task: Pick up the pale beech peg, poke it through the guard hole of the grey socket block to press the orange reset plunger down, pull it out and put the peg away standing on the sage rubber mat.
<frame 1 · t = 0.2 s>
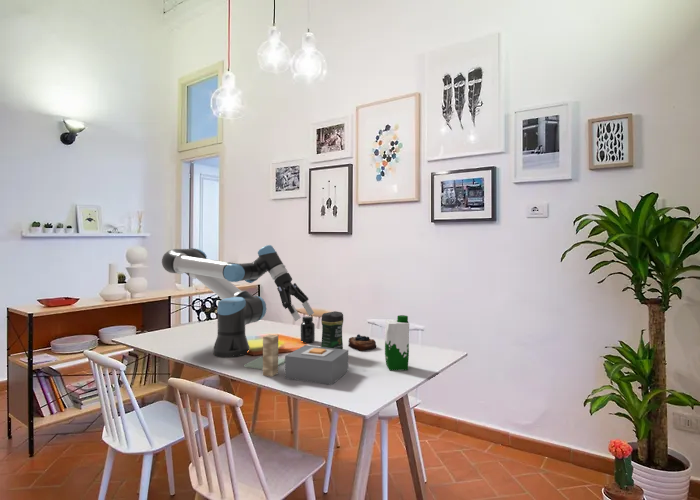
hand: (305, 316, 178), 15 cm above the table, tool tilted 35°, fingers open, 13 cm apart
grey socket block: (317, 374, 148), on the table
pastry: (362, 348, 188), on the table
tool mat: (266, 364, 160), on the table
peg: (270, 374, 148), on the table
milk carton: (396, 368, 157), on the table
supplement bottle: (307, 342, 197), on the table
coffee jar: (332, 355, 174), on the table
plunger: (317, 356, 148), point 6 cm above the table, slide at 0.0 cm
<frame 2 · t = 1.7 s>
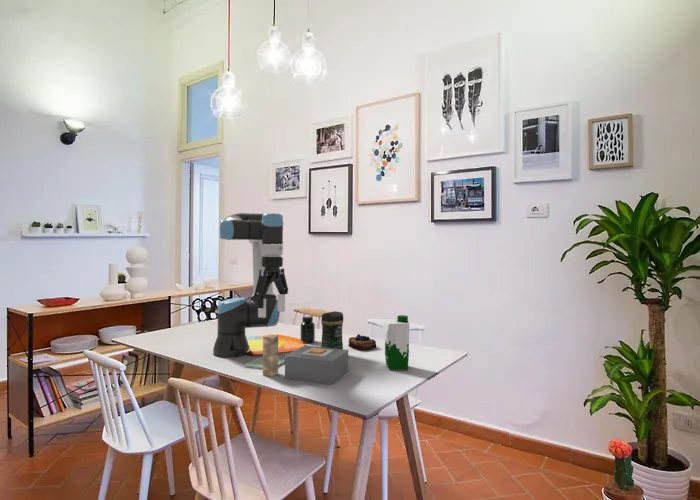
hand: (272, 314, 148), 22 cm above the table, tool pointing down, fingers open, 13 cm apart
nothing on the table moved.
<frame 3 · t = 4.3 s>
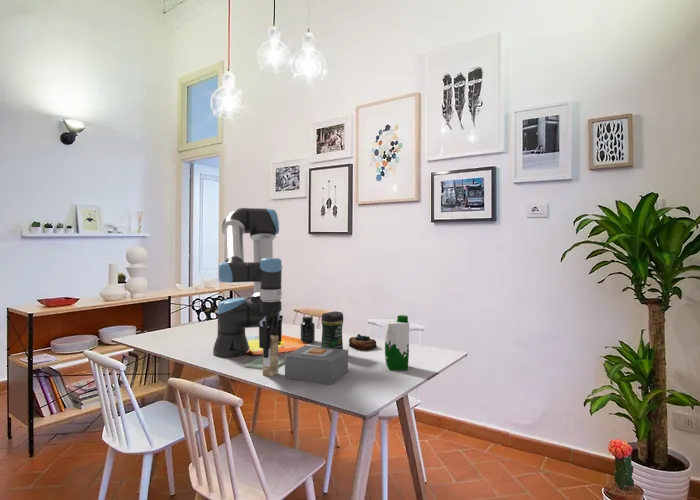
hand: (270, 364, 148), 4 cm above the table, tool pointing down, fingers closed on peg, 4 cm apart
peg: (270, 374, 148), on the table, touching gripper
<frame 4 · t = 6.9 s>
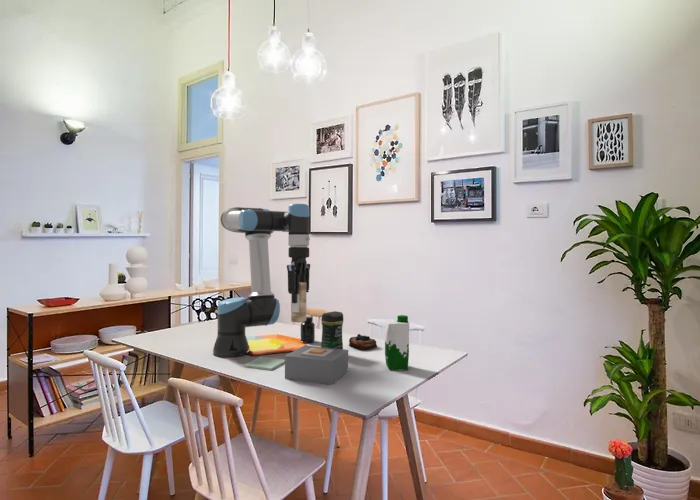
hand: (298, 311, 147), 23 cm above the table, tool pointing down, fingers closed on peg, 4 cm apart
peg: (298, 321, 147), point 20 cm above the table, touching gripper
everything else where it was.
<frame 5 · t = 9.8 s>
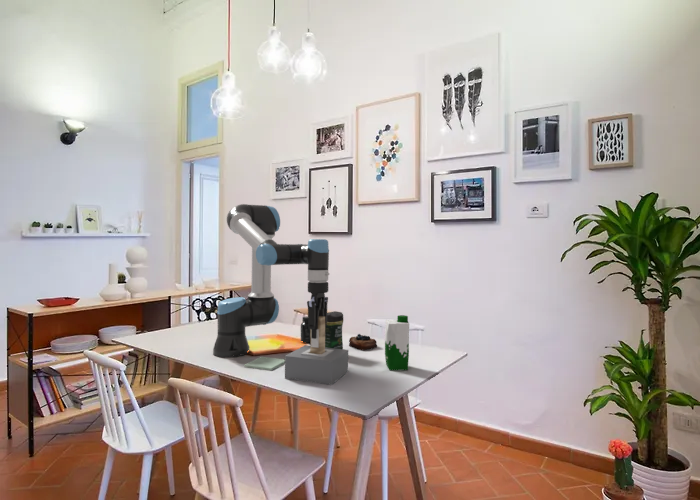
hand: (317, 345, 148), 11 cm above the table, tool pointing down, fingers closed on peg, 4 cm apart
peg: (317, 355, 148), point 7 cm above the table, touching gripper, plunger
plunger: (317, 362, 148), point 5 cm above the table, slide at 2.0 cm, touching peg
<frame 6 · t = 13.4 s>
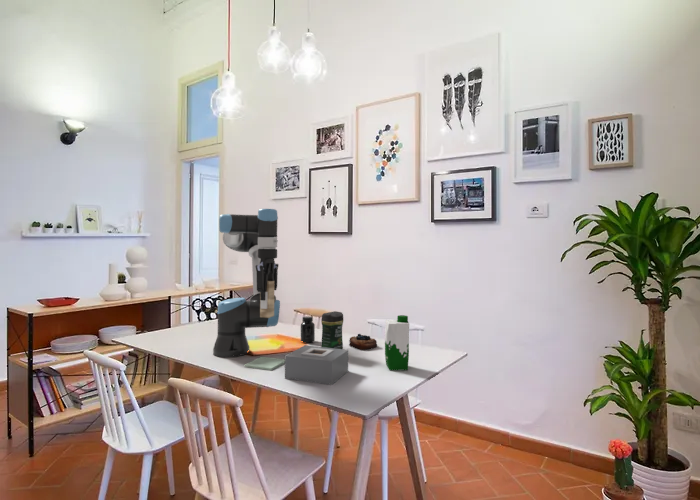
hand: (267, 307, 160), 22 cm above the table, tool pointing down, fingers closed on peg, 4 cm apart
peg: (267, 316, 160), point 19 cm above the table, touching gripper
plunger: (317, 362, 148), point 5 cm above the table, slide at 2.0 cm
when the fingers open (5 cm above the table, at t = 16.4 s): peg drops 1 cm, resting on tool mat.
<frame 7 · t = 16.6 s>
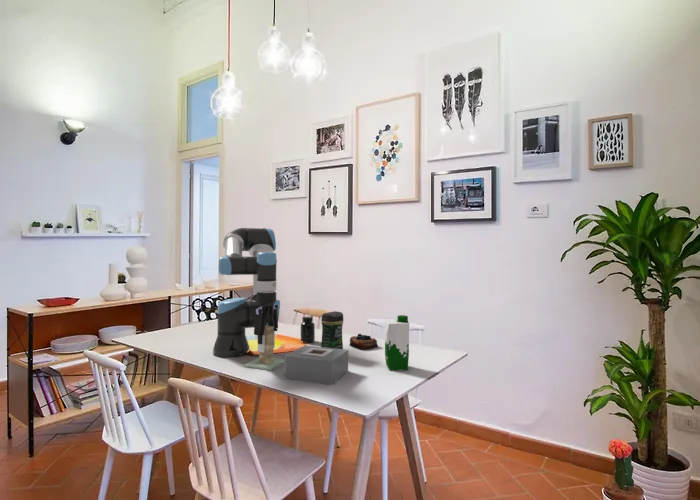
hand: (266, 349, 160), 6 cm above the table, tool pointing down, fingers open, 7 cm apart
peg: (266, 362, 160), point 1 cm above the table, touching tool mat
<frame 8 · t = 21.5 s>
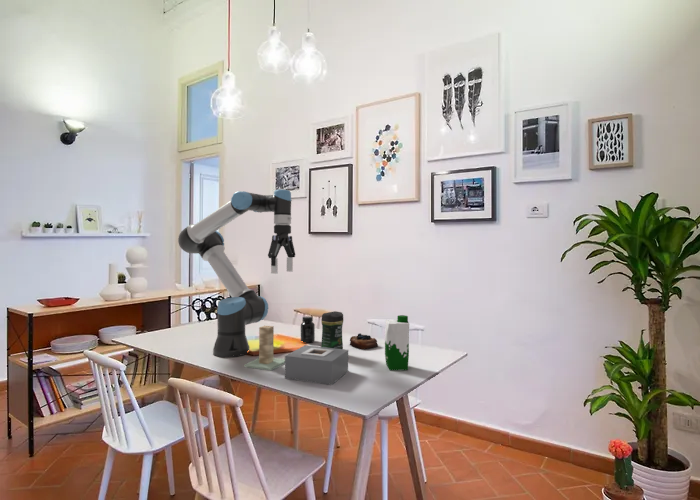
hand: (282, 272, 181), 35 cm above the table, tool pointing down, fingers open, 13 cm apart
at the end: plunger slide at 2.0 cm; peg inside the target area on the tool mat (0.0 cm from its centre), point 0.8 cm above the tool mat's base; peg tilted 0° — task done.
